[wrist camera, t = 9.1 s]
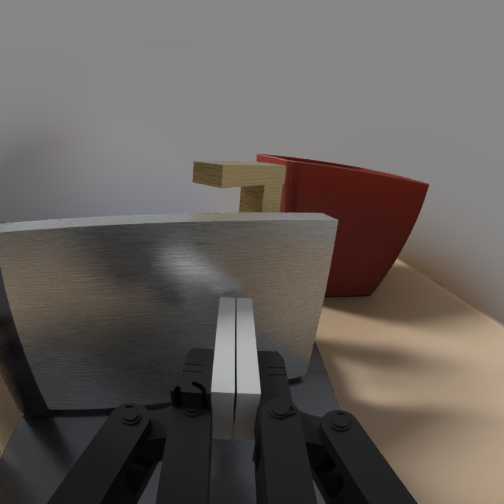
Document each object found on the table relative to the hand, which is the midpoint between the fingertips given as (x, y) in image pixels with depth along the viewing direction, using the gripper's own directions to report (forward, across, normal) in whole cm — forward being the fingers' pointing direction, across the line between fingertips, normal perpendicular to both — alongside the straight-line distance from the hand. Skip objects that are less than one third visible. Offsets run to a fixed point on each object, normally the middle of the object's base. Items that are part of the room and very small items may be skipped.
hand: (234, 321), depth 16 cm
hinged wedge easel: (0, -4, -6) cm, 7 cm away
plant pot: (+27, +13, -10) cm, 32 cm away
